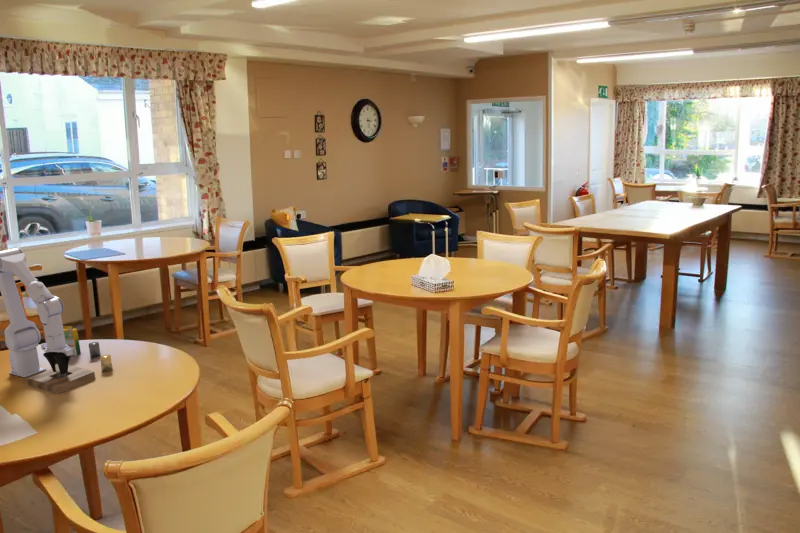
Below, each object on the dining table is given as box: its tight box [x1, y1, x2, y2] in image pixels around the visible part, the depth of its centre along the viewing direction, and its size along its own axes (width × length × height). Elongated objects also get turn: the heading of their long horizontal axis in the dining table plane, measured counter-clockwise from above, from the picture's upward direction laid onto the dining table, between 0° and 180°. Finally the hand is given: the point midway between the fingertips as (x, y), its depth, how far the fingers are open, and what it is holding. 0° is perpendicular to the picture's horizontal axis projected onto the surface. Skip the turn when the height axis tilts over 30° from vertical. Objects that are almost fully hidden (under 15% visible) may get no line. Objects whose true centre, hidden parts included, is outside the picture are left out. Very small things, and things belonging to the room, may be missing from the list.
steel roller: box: [55, 362, 68, 379], centre depth 235 cm, size 4×4×5 cm
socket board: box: [26, 364, 96, 394], centre depth 235 cm, size 16×14×2 cm
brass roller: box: [99, 354, 114, 373], centre depth 244 cm, size 4×4×5 cm
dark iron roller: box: [88, 341, 102, 359], centre depth 258 cm, size 4×4×5 cm
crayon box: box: [63, 325, 82, 357], centre depth 260 cm, size 7×3×12 cm, turn 85°
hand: (60, 372), depth 235 cm, fingers closed on steel roller, 3 cm apart
